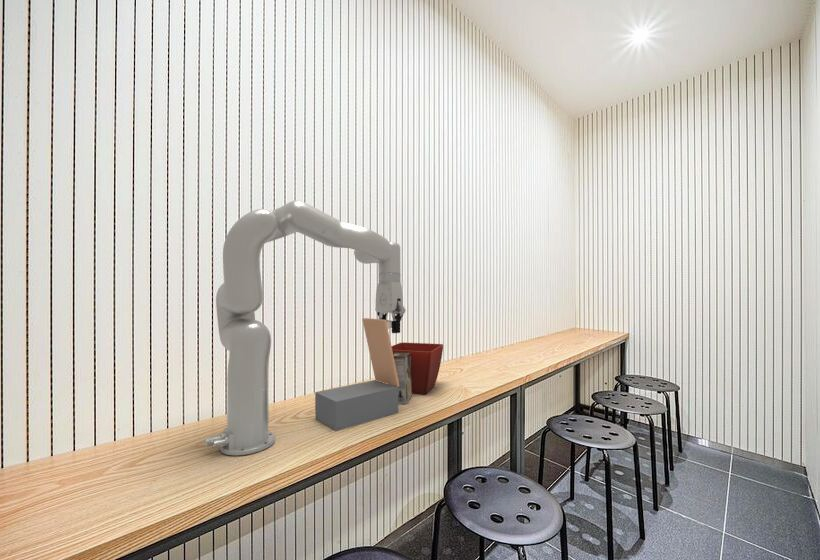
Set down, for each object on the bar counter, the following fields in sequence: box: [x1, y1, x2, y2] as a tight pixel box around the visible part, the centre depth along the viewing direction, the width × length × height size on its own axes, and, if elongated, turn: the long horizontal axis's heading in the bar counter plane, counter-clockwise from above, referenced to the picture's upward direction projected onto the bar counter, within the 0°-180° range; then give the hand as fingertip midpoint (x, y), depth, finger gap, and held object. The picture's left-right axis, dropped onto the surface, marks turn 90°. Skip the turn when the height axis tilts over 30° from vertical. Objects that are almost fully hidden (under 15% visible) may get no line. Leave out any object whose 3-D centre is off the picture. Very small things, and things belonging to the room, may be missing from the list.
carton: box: [314, 379, 399, 432], centre depth 110 cm, size 22×13×8 cm, turn 130°
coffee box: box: [389, 353, 413, 405], centre depth 125 cm, size 9×6×16 cm
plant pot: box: [391, 341, 444, 395], centre depth 139 cm, size 19×19×17 cm
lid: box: [362, 317, 400, 387], centre depth 118 cm, size 22×12×6 cm
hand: (389, 331), depth 119 cm, fingers closed on lid, 6 cm apart
